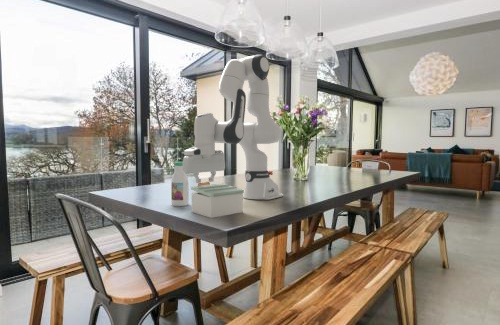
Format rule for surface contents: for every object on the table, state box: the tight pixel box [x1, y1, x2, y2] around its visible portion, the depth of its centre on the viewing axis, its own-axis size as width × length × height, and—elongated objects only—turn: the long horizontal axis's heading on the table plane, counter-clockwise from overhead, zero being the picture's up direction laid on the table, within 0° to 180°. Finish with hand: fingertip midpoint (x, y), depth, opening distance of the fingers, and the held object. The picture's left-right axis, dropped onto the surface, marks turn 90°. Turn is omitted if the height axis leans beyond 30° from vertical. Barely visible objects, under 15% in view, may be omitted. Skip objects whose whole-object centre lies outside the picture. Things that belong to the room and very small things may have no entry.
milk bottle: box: [170, 161, 190, 207], centre depth 151 cm, size 8×8×20 cm
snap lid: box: [190, 181, 245, 197], centre depth 137 cm, size 16×19×2 cm
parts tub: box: [191, 191, 244, 219], centre depth 136 cm, size 16×14×8 cm
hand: (204, 182), depth 143 cm, fingers open, 5 cm apart
